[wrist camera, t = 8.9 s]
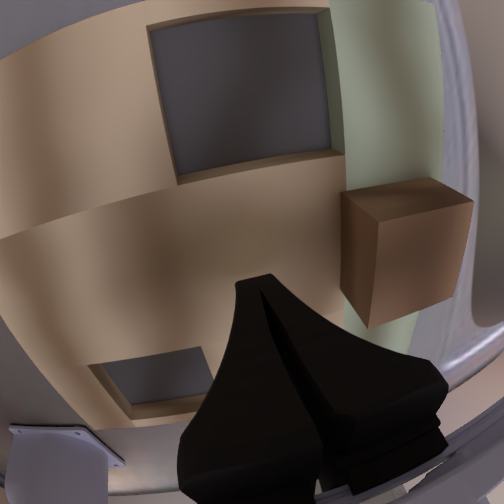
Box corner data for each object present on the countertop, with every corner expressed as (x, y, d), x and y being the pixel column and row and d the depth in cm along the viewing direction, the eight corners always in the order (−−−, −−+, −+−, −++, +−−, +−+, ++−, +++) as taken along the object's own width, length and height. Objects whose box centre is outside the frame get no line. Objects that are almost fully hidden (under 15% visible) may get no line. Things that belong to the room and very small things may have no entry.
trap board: (96, 413, 19) (94, 430, 18) (-59, 111, 8) (-77, 117, 6) (395, 344, 21) (405, 358, 20) (414, 7, 10) (434, 4, 8)
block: (339, 288, 15) (367, 329, 12) (340, 192, 12) (378, 222, 10) (419, 264, 15) (452, 296, 13) (430, 177, 13) (474, 201, 10)
